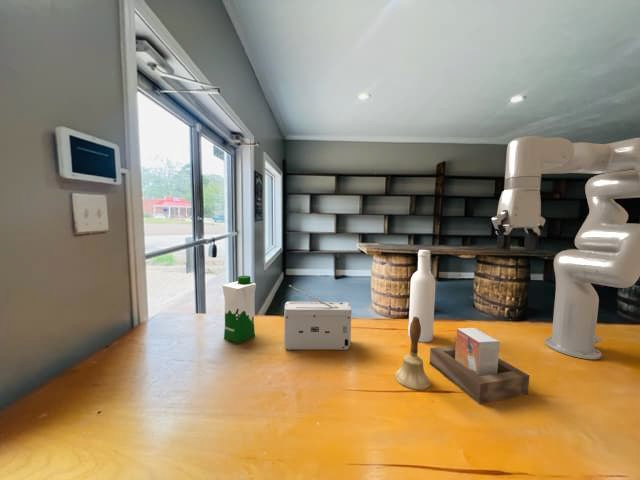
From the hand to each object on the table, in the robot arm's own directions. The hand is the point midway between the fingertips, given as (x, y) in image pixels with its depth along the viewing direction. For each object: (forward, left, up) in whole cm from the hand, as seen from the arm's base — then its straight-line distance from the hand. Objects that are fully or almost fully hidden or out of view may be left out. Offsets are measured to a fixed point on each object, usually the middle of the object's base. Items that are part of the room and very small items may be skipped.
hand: (517, 249), depth 69 cm
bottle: (+14, -20, -32) cm, 41 cm away
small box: (+15, +3, -32) cm, 35 cm away
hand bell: (+31, 0, -33) cm, 45 cm away
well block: (+15, +3, -32) cm, 36 cm away
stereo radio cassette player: (+50, -22, -33) cm, 64 cm away
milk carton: (+74, -33, -32) cm, 87 cm away
